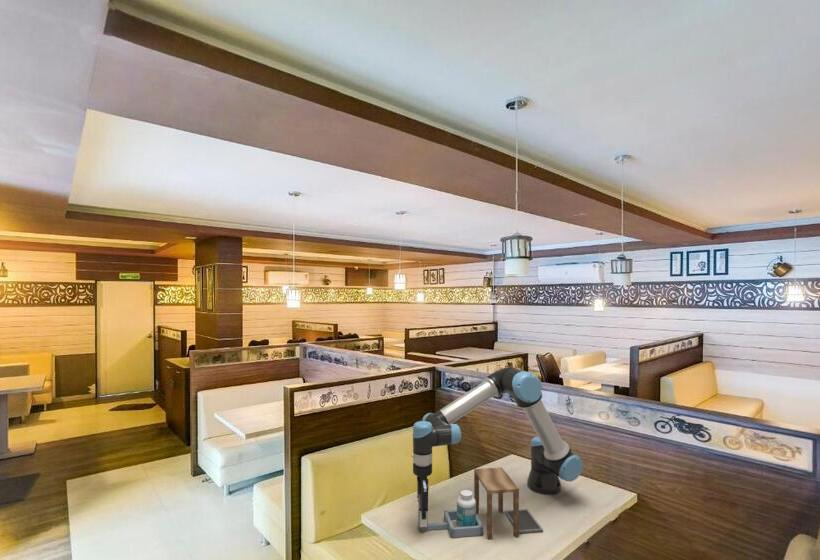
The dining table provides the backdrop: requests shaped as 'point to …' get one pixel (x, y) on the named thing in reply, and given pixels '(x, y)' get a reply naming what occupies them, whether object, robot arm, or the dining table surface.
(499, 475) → the tunnel
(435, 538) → the dining table surface
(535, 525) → the dark grey flat plate
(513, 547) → the dining table surface
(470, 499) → the pill bottle
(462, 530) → the grey frame on stick
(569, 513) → the dining table surface
